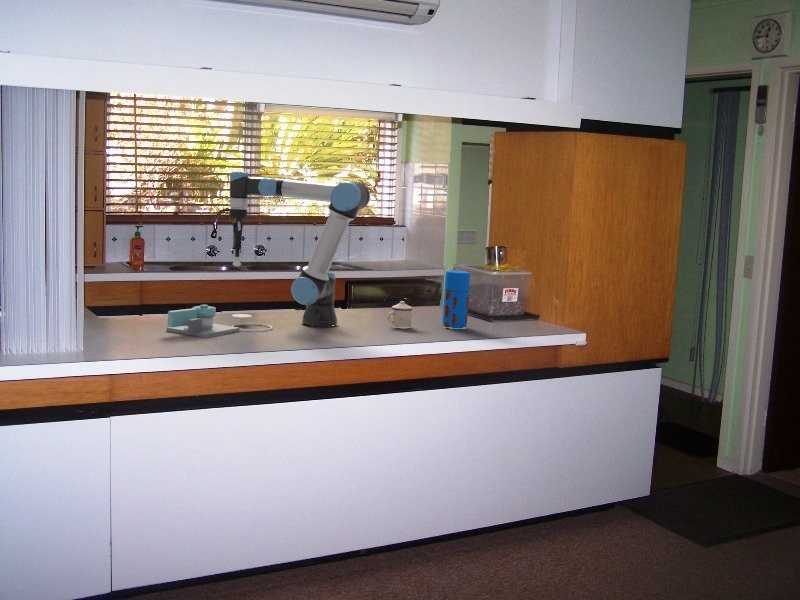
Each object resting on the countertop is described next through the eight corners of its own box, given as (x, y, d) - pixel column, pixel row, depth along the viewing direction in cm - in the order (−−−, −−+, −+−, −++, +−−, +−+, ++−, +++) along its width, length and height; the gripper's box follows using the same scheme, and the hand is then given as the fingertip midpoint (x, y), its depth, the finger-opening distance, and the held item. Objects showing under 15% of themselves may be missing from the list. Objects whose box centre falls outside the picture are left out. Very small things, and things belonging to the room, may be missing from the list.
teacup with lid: (403, 325, 381) (404, 299, 379) (415, 328, 373) (417, 302, 372) (381, 326, 373) (382, 300, 372) (393, 330, 366) (394, 303, 365)
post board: (239, 331, 344) (240, 315, 343) (200, 338, 324) (201, 321, 323) (201, 325, 353) (201, 309, 352) (160, 332, 333) (161, 315, 332)
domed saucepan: (204, 319, 345) (204, 302, 345) (220, 322, 340) (220, 305, 340) (161, 325, 328) (162, 307, 327) (177, 328, 323) (178, 310, 322)
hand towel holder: (245, 323, 340) (218, 315, 355) (244, 334, 341) (218, 325, 356) (281, 320, 351) (254, 312, 367) (280, 330, 352) (253, 323, 367)
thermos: (456, 325, 389) (459, 270, 386) (471, 329, 380) (475, 273, 377) (437, 326, 383) (440, 270, 380) (451, 330, 374) (455, 273, 371)
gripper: (227, 207, 366) (226, 262, 369) (230, 208, 354) (229, 265, 357) (245, 208, 368) (243, 263, 372) (249, 209, 356) (247, 266, 359)
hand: (236, 264), depth 364 cm, fingers closed
